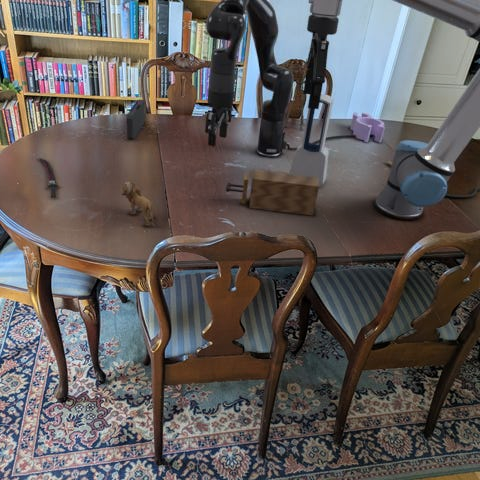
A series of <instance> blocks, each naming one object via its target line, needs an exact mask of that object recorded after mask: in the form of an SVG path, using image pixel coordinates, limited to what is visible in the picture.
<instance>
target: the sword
mask: <svg viewBox="0 0 480 480" xmlns="http://www.w3.org/2000/svg"><path fill="white" fill-rule="evenodd" d="M40 161H41V162H42V163H43V165H44V166H45V169H46V173H47V176H48V185H47V188H50V198H56V197H57V189H56V188H57V187H59V185H58V184H57V183H56V180H55V176H54V172H53V169H52V167H51V164H50V163H49V161H48V160H46V159H43V158H40Z"/></svg>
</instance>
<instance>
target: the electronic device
mask: <svg viewBox="0 0 480 480" xmlns="http://www.w3.org/2000/svg"><path fill="white" fill-rule="evenodd" d="M334 100H335V98H334V97H332V96H331V95H328V94H325V93H321V97H320V103H321V104H324V105H325V110H324V115H323V120H322V126H321V132H320V136H319V140H320V141H319V142H318V144H312V143H313V142H310V139H311V133H312V129H313V122H314V117H315V111H316V109H311V108H308V107H307V115H306V121H305V127H304V132H303V138H302V143H300V144H299V145H298V147H296V148H297V150H295V152H294V156H293V159H292V162H291V166H290V169H289V173H288V174H290V175H299V176H307V177H316V178H318V183H319V188H320V187H321V186H322V185H324V183H325V181H326V179H327V173H328V163H329V162H328V161H329V153H330V150H329V149H328V148H327V147H326V146H325V145H326V138H327V135H328V130H329V125H330V119H331V114H332V109H333V104H334ZM320 103H319V104H320Z"/></svg>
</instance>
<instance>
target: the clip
mask: <svg viewBox="0 0 480 480" xmlns="http://www.w3.org/2000/svg"><path fill="white" fill-rule="evenodd" d="M358 114H359V113H358V112H353V114H352V118H351V122H350V126H349V129H350V130H351V131H353V132H352V135H356V137H355V138H356V139H358V140H361V141H363V142H364V143H368V142H369V140H370V137H369V136H370V135H373V136H374V139H373V140H374V142H376V143H382V140H383V137H384V132H385V129H386V127H385V122H384V121H383V120H380V119H377V118H374V117H372V115H371V114H369V113H366V112H361V115H358Z"/></svg>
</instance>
